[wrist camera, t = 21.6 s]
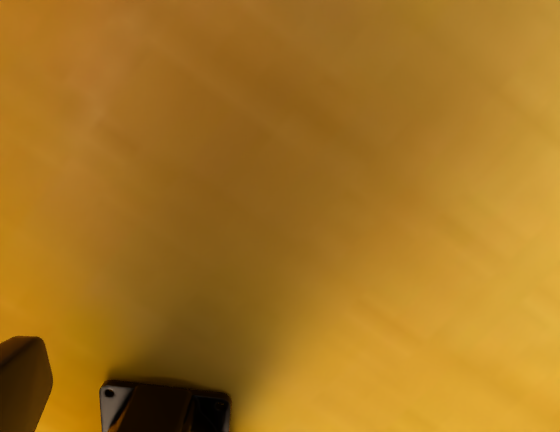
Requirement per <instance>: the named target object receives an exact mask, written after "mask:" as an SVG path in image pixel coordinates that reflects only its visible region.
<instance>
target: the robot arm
mask: <svg viewBox="0 0 560 432" xmlns="http://www.w3.org/2000/svg"><path fill="white" fill-rule="evenodd" d="M52 384H53V376H52V371H51V367H50V363H49V359H48V355H47V351H46V347H45V344H44V341H43V340H42V339H41V338H39V337H36V336H15V337H12V338H10V339H8V340H6V341H4V342H2V343H0V432H35V429H36V427H37V424H38V422H39V419H40V417H41V415H42V412H43V410H44V407H45V405H46V403H47V400H48V398H49V395H50V393H51V389H52ZM108 389H110V390H112V391H113V392H112V391H110V390H108ZM99 394H100V409H101V423H102V432H230V421H231V406H232V400H231V398H230V396H229V395H227V394H225V393H220V392H211V391H203V390H194V389H186V388H177V387H169V386H160V385H152V384H143V383H135V382H126V381H118V380H107V381H105V382H104V383H103V385H102V386H101V388H100V391H99ZM220 402H221V403H223V405H221V404H219V403H220Z"/></svg>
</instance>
